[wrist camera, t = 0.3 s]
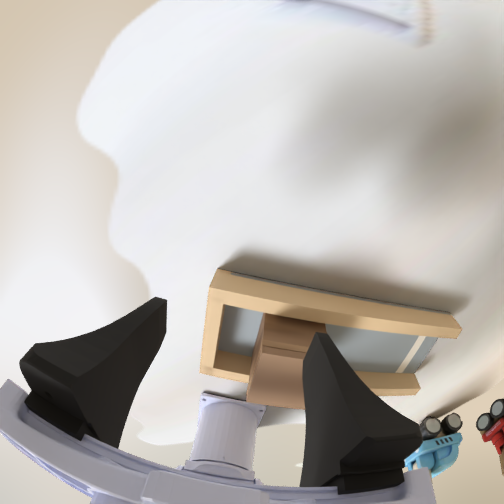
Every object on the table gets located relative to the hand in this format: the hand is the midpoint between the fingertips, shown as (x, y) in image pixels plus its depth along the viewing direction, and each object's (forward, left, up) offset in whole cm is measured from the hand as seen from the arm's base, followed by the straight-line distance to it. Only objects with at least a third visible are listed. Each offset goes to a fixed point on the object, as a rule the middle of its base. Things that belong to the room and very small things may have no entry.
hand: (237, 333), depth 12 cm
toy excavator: (-26, -33, -10) cm, 44 cm away
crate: (-7, -4, -9) cm, 12 cm away
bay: (-7, -9, -10) cm, 15 cm away
